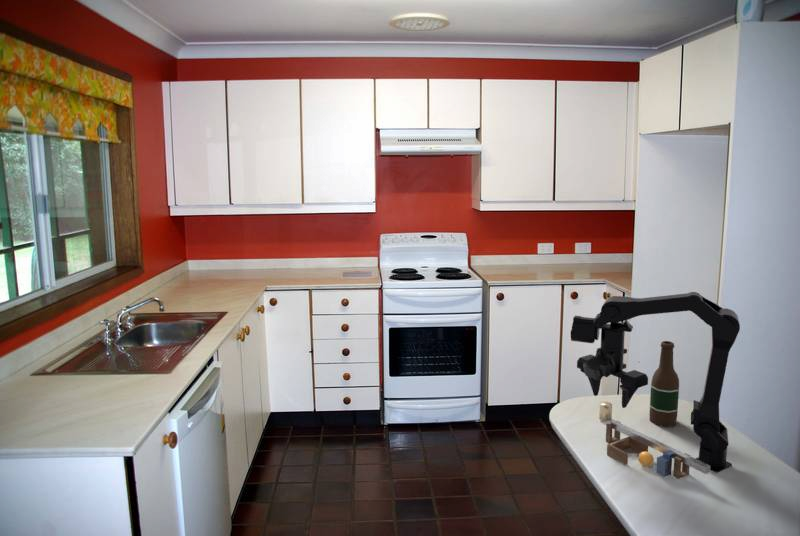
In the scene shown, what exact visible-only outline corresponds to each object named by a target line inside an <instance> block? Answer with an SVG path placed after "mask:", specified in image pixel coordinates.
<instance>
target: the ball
mask: <svg viewBox="0 0 800 536" xmlns="http://www.w3.org/2000/svg"><path fill="white" fill-rule="evenodd" d="M638 454H639V453H638ZM637 459H638V462H639V463H640V465H641V466H644V467H646V468H647V467H650V466H652V465H653V464H654V462H655V461H654V460H655V459H654V456H653V455H652V453H651V452H649V451H648V452H646V451H644V452H641V453H640V454H639V455H638V456H637Z"/></svg>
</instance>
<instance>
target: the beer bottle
mask: <svg viewBox="0 0 800 536" xmlns="http://www.w3.org/2000/svg"><path fill="white" fill-rule="evenodd" d="M674 348H675V343H674V342H672V341H668V340H663V341H661V343H660V349H661V350H660V357H659V365H658V367H657V369H656V370H655V371H654V373H653V375H652V378H651V383H650V397H649V422H651V423H652V424H654V425H655V426H660V427H666V428H670V427H674V426H676V425H677V422H678V421H677V420H678V419H677V418H678V411H679V410H678V409H679V398H680V397H679V393H680V378H679V375H678V374H677V372H676V371H675V366H674Z"/></svg>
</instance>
